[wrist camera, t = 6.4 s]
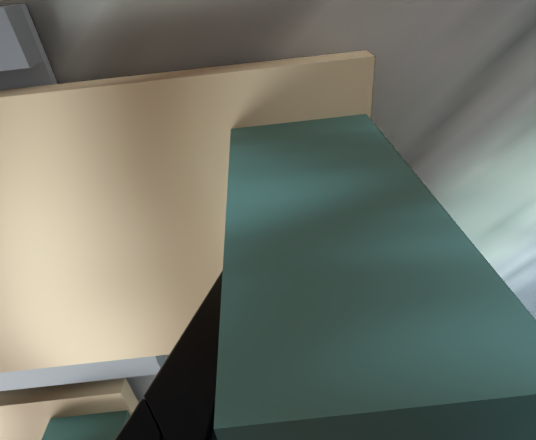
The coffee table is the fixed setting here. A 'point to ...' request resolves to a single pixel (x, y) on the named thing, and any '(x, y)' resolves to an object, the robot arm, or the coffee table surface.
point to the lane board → (39, 74)
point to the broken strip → (67, 411)
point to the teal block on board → (256, 253)
